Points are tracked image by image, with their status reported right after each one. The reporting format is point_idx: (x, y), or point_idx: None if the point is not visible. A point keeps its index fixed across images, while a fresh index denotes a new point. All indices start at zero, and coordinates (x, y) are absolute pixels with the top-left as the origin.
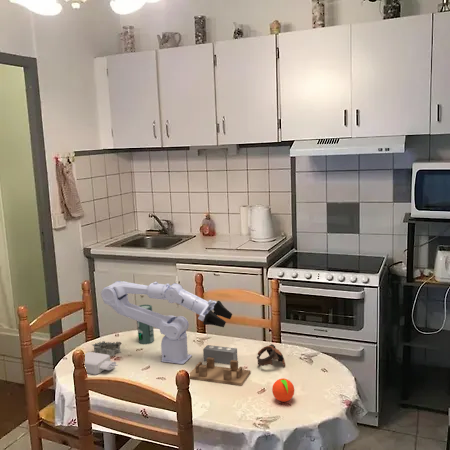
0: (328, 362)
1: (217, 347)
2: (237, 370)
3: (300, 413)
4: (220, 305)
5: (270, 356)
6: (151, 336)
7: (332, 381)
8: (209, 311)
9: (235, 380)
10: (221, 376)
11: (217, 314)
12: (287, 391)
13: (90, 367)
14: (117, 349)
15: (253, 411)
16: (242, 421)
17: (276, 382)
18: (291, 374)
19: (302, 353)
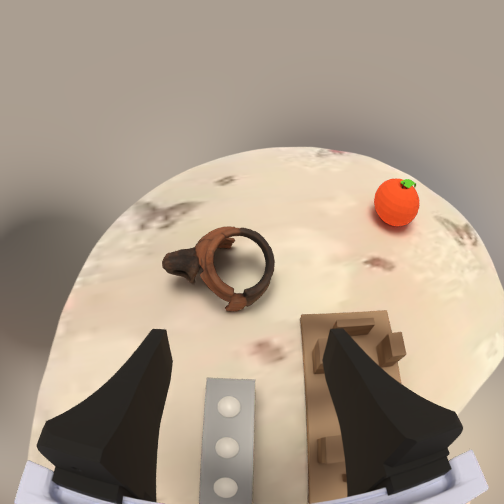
0: (186, 180)
1: (215, 463)
2: (368, 323)
3: None
4: (120, 418)
5: (265, 241)
6: None
7: (274, 166)
8: (454, 421)
9: (381, 331)
10: None
11: (155, 462)
12: (415, 185)
13: None
14: None
15: (452, 255)
16: (482, 261)
17: (412, 197)
18: (269, 225)
19: (138, 228)
